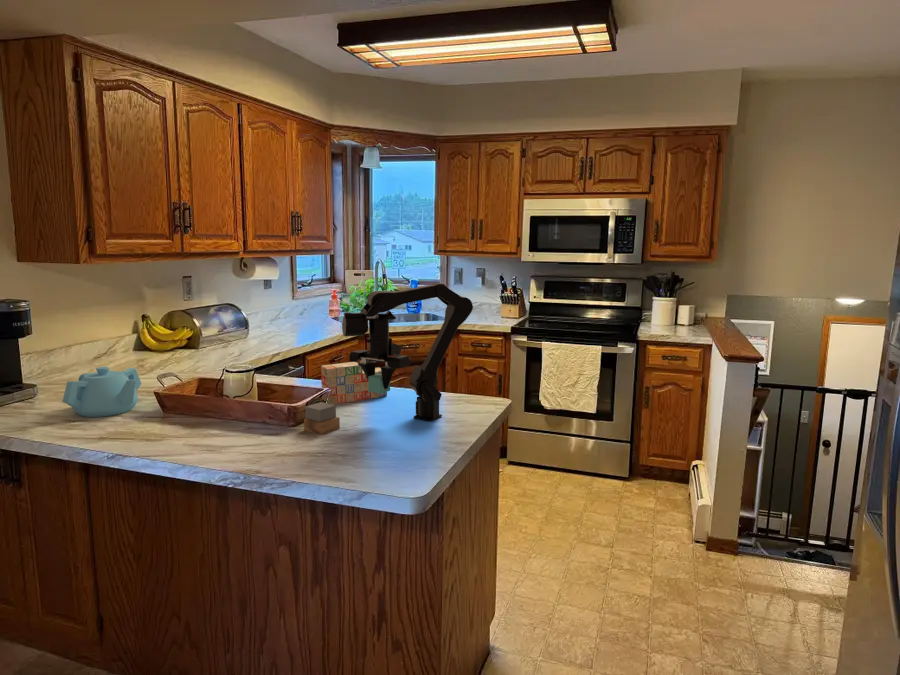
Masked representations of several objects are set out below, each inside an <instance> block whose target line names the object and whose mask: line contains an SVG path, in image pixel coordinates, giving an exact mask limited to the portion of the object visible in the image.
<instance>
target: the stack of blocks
mask: <svg viewBox="0 0 900 675" xmlns="http://www.w3.org/2000/svg"><path fill="white" fill-rule="evenodd" d="M358 363H359V362H351V361H348V362H342V363H332V364H323V365H321V366H320V368H321V369H320V370H321V373H320V380H321V389H322V388H330V389H331V391H330V393H329V396H328V400H327V404H332V405H336V404H344V403H352V402H356V401H362V400H369V399H370V400H371V399H379V398H383V397H388V391H387V392H384V393H381V394H379V393H374V392H369V391H368V379H367V377H366V375H365V373H364V371H363V370H362V368H361V366H359V365H358ZM375 374H382V373H381V367H375Z"/></svg>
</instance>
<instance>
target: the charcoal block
mask: <svg viewBox="0 0 900 675" xmlns="http://www.w3.org/2000/svg"><path fill="white" fill-rule="evenodd" d="M304 409H305V410H304V412H305V413H304V414H305V417H304V419H309V420H313V421H317V422H323V421H326V420H329V419H332V418H335V417H337V405H336V404H327V403H326V402H324V401H320V402H317V403H313V404H310V405H307V406H306V405H305V406H304Z"/></svg>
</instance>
